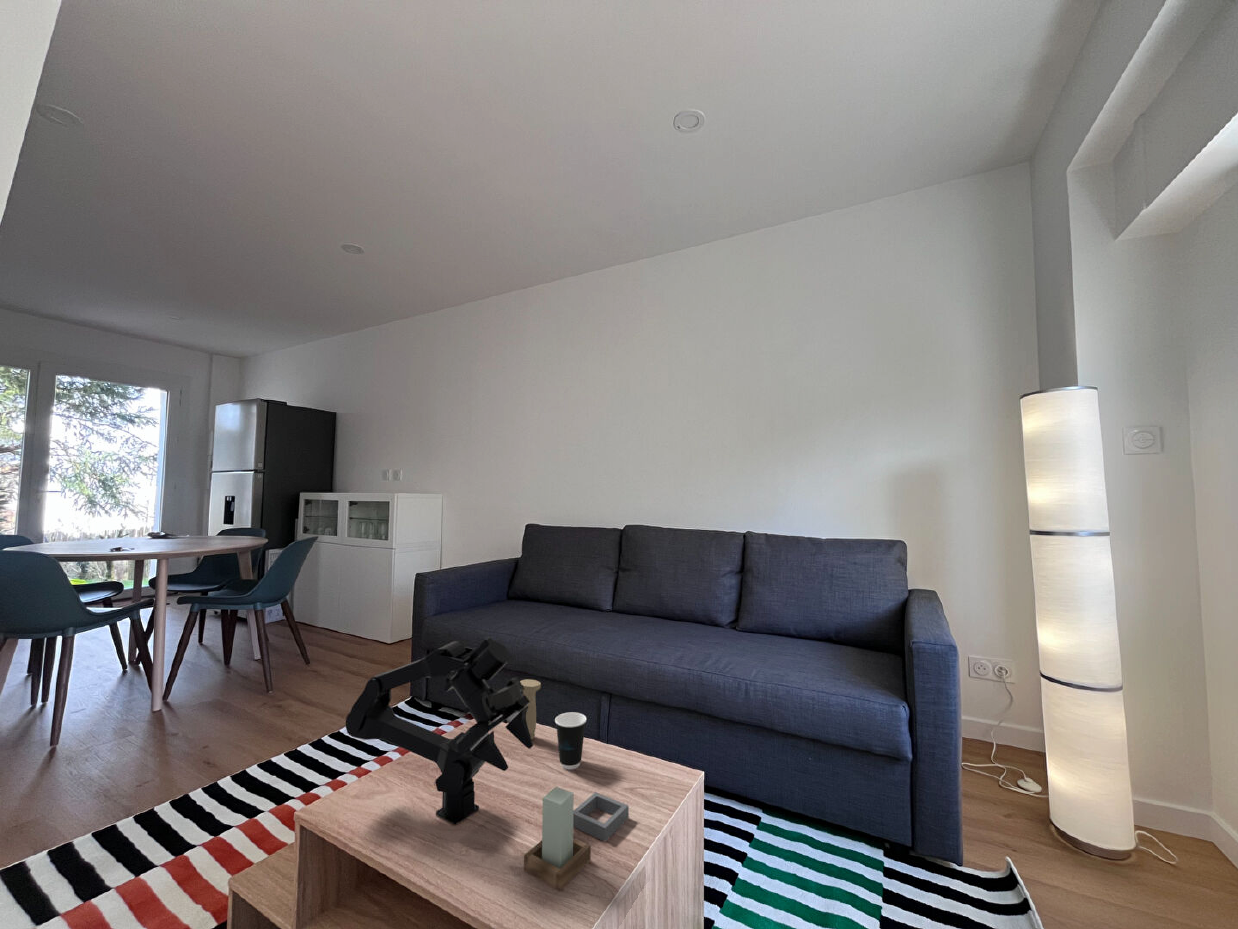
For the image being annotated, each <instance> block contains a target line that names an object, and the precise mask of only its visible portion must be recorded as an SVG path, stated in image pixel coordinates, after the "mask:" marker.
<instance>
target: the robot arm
mask: <svg viewBox="0 0 1238 929" xmlns="http://www.w3.org/2000/svg"><path fill="white" fill-rule="evenodd" d="M510 660H511V654H510V652H509V650H508V648H507V647H506V646H505V645H503V644H502V643H500V642H498V641H496V640H493V638H491V637H490V636H489V637H486V638H485V639H483V641H482V642H481V644H479V646H478V647H477V648H472V647H468V646H465V645H464V644H463V643H461V641H458V640H455V641H452V642H450V643H448V644H445V645H444V646H442V647H439V648H438V649H436V650H434V651H433V652H431V653H429V654H427V655H425V656H424V657H423V658H420V659H418V660H416V661H413V662H409V663H408V664H404V665H402V666H399V667H397V668H394V669H391V670H388V671H383V672H381V673H378V674H376V675H375V676H372V677H371V678H369V680H367V682H366V684H365V686H364V689H363V691H362V692H361V694H360V695H359V696H358V698H357V699H356V700H355V702H354V704H353V705H352V707H351V709H350V711H349V713H348V714H347V715H346V718H345V729H346V733H347V734H348V735H349V736H350V737H352V738H354V739H355V738H356V739H360V740H365V741H366V740H367V741H368V740H383V741H385V742H388V743H390V744H392V745H395V746H396V747H399V748H402V749H404V750H405V751H408V752H410V753H413V754H415V755H416V756H417V755H418V756H420V757H421V758H424V759H426V760H428V761H431V762H432V763H433V762H434V763H435V764H436V765H437V767H438V769H439V770H440V773H441V774H440V775H439V776H438V777H437V778H436V779H435V780H434V781H435V782H434V784H435V786H436V790H437V792H442V801H441V803H442V804H441V806H442V807H441V808H439V809H438V810H436V811H435V815H436V816H438V817H439V818H441V819H443V820H445V821H446V822H448V823H450V824H452V825H453V826H455V825H458V824H459V823H461V822H462V821H464V820H465V819H467V818H468V817H470V816H471V815H473V814H474V813H476V812H477V811H479V810H480V806H479V804H476V803H475V802H476V801H475V798H476V797H475V796H476V792H475V782H474V781H473V778H474V777H475V775H476V774H478V773H479V771H480V769H481V768H482V767H483V766H484V764H485V763H488V764H489V765H491V766H493V767H495V768H497V769H499V770H501V771H503V772H505V771H507V770H508V768H509V765H508V763H507V761H506V759H505V757H504V756H503V754H502V753H501V751H500V749H499V748H498V746H497V744H496V743H495V731H494V730H493V729H494V728H496V727H498V726H499V725H500V724H501V723H504V724H506V726H504V727H505V729H506V730H507V731H509V733H510V734H511V735H513V736H514V737H515V738H516V739H517V740H518V741H519V742H520V743H521V744H522V745H524V747H526V748H527V749H530V750H531V748H533V746H534V743H533V739H532V740H531V736H530V733H529V730H528V726H527V722H526V713H527V710H528V706H527V705H528V704H529V703H530V701H529V700H528V698H527V697H526V696H525V695H523V694H522V692H523V685H522V684H521V682H520V681H521V680H519V679H518V678H517V677H514V678H512V679H509V680H508V681H506V686H505V687H503V688H502V689H498V688H497V687H496V686H494V685H492V686H489V685H488V683H487V682H486V681H489V680H492V679H493V678H494V676H496V675H497V674H498V673H499V672H500V671H501V670H502V669H503V668H504V667H505V666H506V665H507V664H508V663H509V661H510ZM467 665H468V666H467ZM465 666H467V667H465ZM455 671H457V672H456V673H455V674H454V675H450V674H451V673H452V672H455ZM447 675H450V676H448V677H446V676H447ZM441 677H446V678H445V684H444V686H443V691H444V693H448V692H449V691H451V690H453V689H454V691H455V692H456V695H458V698H460V700H461V701H462V703H463V704H464V707H466V708H464V709H463V713H464V714H465V715H468V714H471V716H472V718H473V719H474V721H475V722H476V723H475V724H473V725H472V726H470V727H469V728H468V729H467V730H466V731H465V732H463V731H462V732H460V733H458V734H457V735H456V736H454V738H448V737H446V736H443V735H441V734H439V733H436V732H435V731H431V730H429V729H427V728H424V727H423V726H420V725H419V724H414V723H413V722H409V721H408V720H405V719H403V718H401V717H399V716H397V715H396V714H395V712H394V711H393V708H392V706H390V703H391V701H392V690H393V689H395V688H398V687H400V686H403V685H406V684H408V683H411V682H414V681H417V680H420V679H424V678H433V679H434V678H441ZM526 706H527V707H526ZM525 707H526V708H525ZM489 732H490V733H489Z"/></svg>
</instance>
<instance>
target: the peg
mask: <svg viewBox="0 0 1238 929" xmlns="http://www.w3.org/2000/svg"><path fill="white" fill-rule="evenodd" d="M574 800H575V799H574V792H573V791H569V790H567V789H564V788H561V787H559V786H555V787H553V789H551V790H550V791H549V792H548V793H547V794H545V795H544V796H543V798H542V822H541V823H542V825H541V826H542V828H541V829H542V830H541V832H542V833H541V835H542V837H541V838H542V839H541V841H542V860H544V861H546V862H548V863H549V864H551V865H553V866H555V867H557V868H559V869H561V868H562V867H563V866H564V865H565V864H566V863H567V862H568V861H569V860H570V859H571V858H572V857H573V838H574V827H573V811H574V802H575V801H574Z"/></svg>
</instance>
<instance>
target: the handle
mask: <svg viewBox="0 0 1238 929" xmlns="http://www.w3.org/2000/svg"><path fill="white" fill-rule="evenodd" d="M519 681H520V682H521V684H522V685H523V691H522V692H523V694H522V695H525V696H526V697H527V698H528V700H529V701H530V703H529V704H528V705H527V706H528V710H527V713H526V722H527V726H528V730H529V733H530V736H531V740H532V741H533V740H535V737H536V736H535V735H536V733H535V732H536V729H537V728H536V727H537V704H536V693H537V692H538V691H539V690H540V689H541V685H542V683H541V682H540V681H538V680H536V679H527V678H526V679H522V680H519ZM527 706H526V707H527ZM526 707H525V708H526Z"/></svg>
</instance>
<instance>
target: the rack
mask: <svg viewBox="0 0 1238 929" xmlns="http://www.w3.org/2000/svg"><path fill="white" fill-rule="evenodd" d="M591 847H592V846H591V845H590V844H588V843H586V842H584V841H581V840H579V839H577V838H576V837H573V857H572V858H571V859H570V860H569V861H568V862H567V863H566V864H565V865H564V866H563V867H562V868H561V869H559V868H557V867H555V866H553V865H551V864H549V863H548V862H546V861H544V860H542V840H540V841H539V842H538V843H536V844H535V845H534V847H532V848H531V849H530V850H529V851H528V852H526V853H525V854H524V855H523V871H524V872H526V873H528V874H530V875H531V876H533V877H535V878H537V879H538V880H539V881H542V882H544V883H546V884H548V885H549V886H551V887H553V888H554V889H556V890H558V891H560V892H562V890H563V889H564V888H565V887H566V886H567V885H568V884H570V882H571V881H572V880H573V879H574V878H575V877H576V876H577V875H578V873H580V872H581V871H582V870H583V868H585V866H586V865H587V864H588V863H590V862H591V860H592V859H591V857H592V856H591V853H592V852H591Z"/></svg>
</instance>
